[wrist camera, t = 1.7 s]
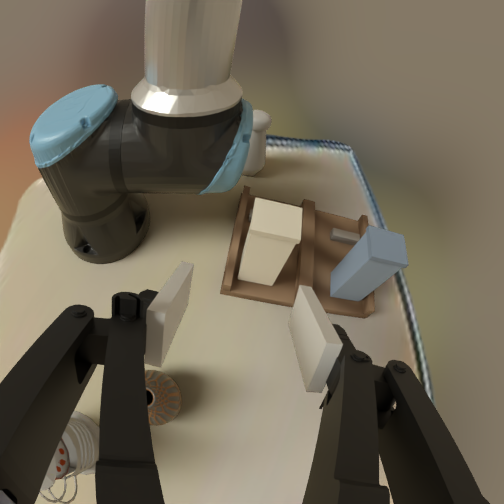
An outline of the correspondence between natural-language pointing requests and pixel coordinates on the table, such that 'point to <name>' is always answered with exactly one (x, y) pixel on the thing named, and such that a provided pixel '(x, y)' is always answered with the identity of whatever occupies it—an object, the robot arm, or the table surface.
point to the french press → (73, 453)
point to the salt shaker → (257, 143)
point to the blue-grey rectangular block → (368, 264)
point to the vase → (161, 397)
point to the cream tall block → (269, 240)
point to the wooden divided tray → (300, 260)
